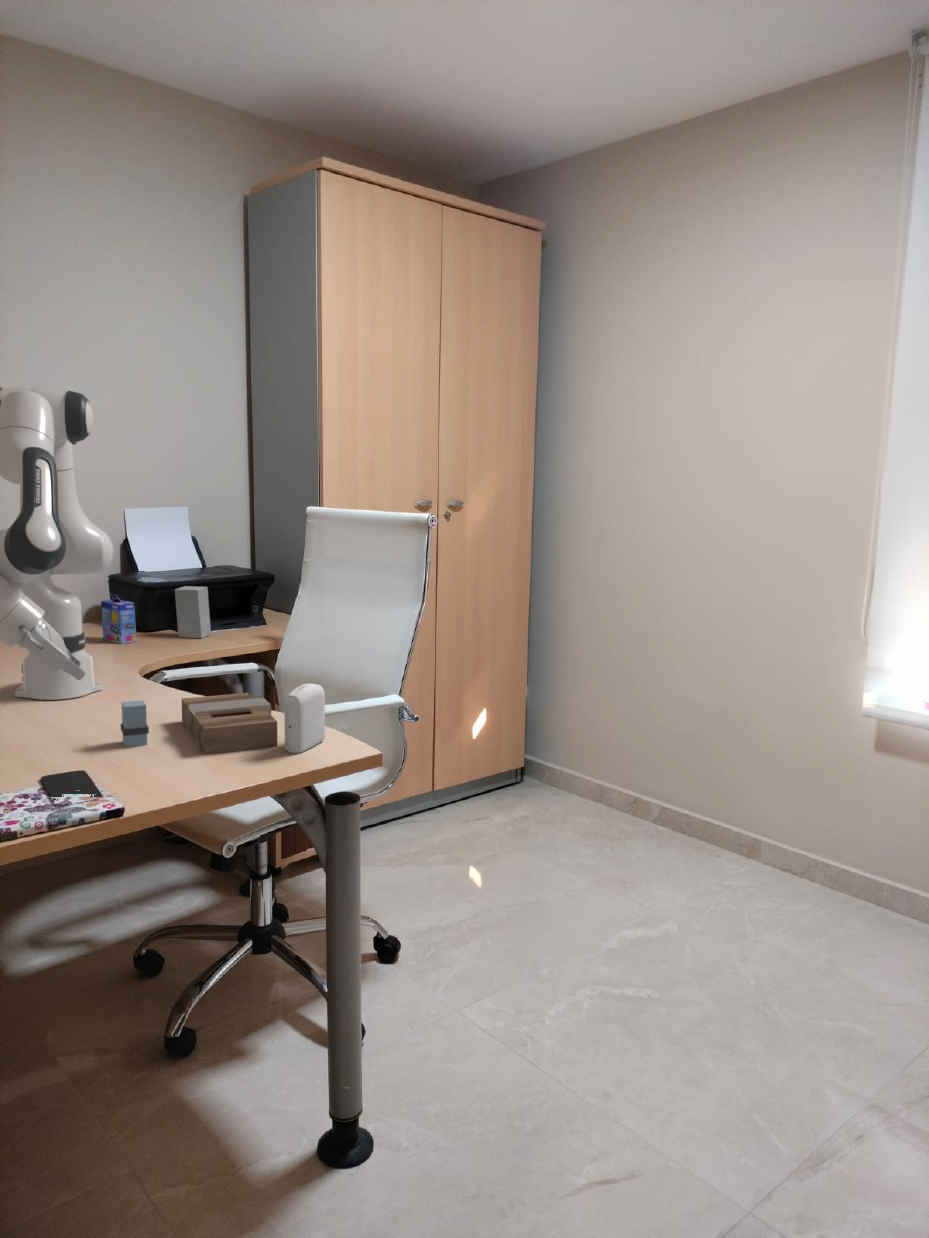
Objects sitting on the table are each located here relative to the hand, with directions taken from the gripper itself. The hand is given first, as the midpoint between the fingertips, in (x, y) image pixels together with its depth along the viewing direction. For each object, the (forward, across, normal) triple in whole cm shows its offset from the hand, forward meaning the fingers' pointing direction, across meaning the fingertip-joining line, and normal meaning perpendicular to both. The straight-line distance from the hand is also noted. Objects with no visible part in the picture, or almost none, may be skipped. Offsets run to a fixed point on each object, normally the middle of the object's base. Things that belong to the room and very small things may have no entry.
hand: (80, 671), depth 170 cm
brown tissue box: (+30, 0, -9) cm, 31 cm away
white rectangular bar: (+29, 0, -11) cm, 31 cm away
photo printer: (+39, -14, -17) cm, 44 cm away
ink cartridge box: (+24, +107, -3) cm, 110 cm away
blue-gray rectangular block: (+17, 0, +4) cm, 18 cm away
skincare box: (+39, +107, -18) cm, 115 cm away
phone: (+8, -22, +14) cm, 27 cm away
